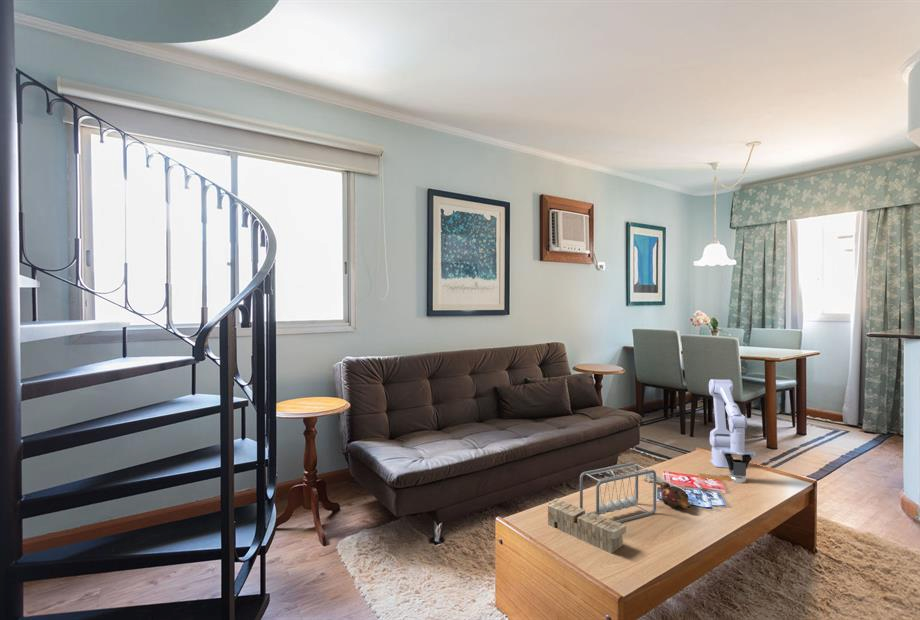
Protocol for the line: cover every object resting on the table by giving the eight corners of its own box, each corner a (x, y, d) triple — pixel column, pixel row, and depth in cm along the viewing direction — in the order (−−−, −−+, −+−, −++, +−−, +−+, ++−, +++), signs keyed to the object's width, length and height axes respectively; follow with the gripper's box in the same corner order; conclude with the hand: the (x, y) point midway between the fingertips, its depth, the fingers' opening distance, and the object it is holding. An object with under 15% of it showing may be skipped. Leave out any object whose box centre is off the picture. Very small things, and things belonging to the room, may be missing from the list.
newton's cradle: (597, 529, 164) (597, 482, 164) (579, 517, 174) (579, 472, 174) (656, 513, 177) (656, 469, 176) (636, 503, 186) (636, 460, 186)
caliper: (643, 481, 209) (643, 468, 209) (645, 480, 210) (645, 467, 209) (689, 495, 193) (689, 481, 193) (690, 494, 194) (690, 480, 194)
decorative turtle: (667, 496, 192) (669, 478, 192) (698, 513, 178) (700, 494, 178) (650, 499, 188) (652, 480, 188) (680, 517, 175) (682, 497, 174)
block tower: (544, 526, 169) (614, 556, 147) (544, 504, 169) (614, 531, 147) (557, 519, 174) (627, 547, 152) (556, 498, 174) (626, 523, 152)
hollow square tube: (729, 471, 212) (729, 458, 212) (741, 472, 211) (741, 459, 211) (733, 475, 207) (733, 462, 207) (745, 476, 206) (745, 463, 206)
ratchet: (701, 480, 209) (701, 469, 209) (697, 475, 216) (697, 464, 216) (748, 483, 205) (748, 472, 205) (742, 478, 212) (742, 467, 212)
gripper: (723, 443, 206) (723, 472, 207) (758, 445, 203) (758, 474, 204) (718, 438, 213) (718, 466, 214) (751, 440, 210) (751, 468, 211)
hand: (737, 470), depth 209 cm, fingers closed on hollow square tube, 5 cm apart
